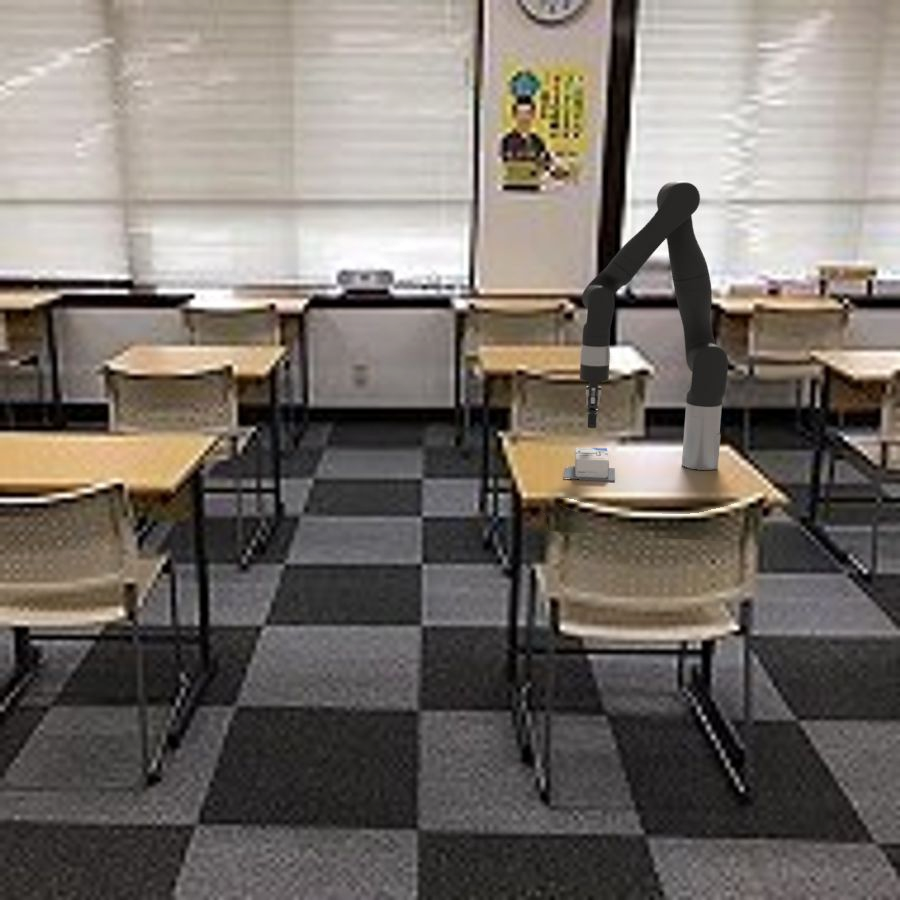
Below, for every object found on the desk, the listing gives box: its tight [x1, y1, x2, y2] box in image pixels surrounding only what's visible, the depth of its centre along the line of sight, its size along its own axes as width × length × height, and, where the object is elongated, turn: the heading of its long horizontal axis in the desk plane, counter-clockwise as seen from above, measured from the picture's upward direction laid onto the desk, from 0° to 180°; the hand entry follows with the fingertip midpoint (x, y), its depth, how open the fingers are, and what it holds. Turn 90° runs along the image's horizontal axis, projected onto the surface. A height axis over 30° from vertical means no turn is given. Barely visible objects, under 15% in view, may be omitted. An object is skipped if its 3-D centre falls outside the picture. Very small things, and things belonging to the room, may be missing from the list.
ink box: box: [574, 447, 610, 478], centre depth 272 cm, size 9×5×12 cm
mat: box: [562, 465, 616, 483], centre depth 271 cm, size 13×12×1 cm
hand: (591, 427), depth 275 cm, fingers closed
